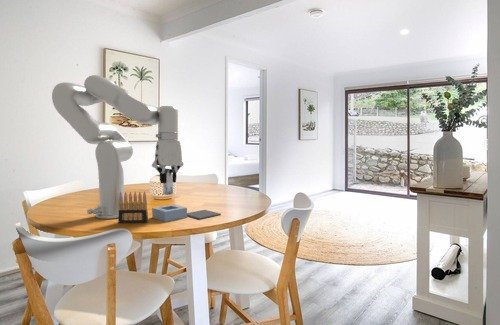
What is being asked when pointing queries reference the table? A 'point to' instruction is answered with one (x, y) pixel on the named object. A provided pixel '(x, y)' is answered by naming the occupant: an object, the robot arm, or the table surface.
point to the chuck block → (169, 213)
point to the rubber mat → (202, 214)
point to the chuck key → (168, 182)
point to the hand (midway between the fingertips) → (168, 182)
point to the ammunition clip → (132, 209)
